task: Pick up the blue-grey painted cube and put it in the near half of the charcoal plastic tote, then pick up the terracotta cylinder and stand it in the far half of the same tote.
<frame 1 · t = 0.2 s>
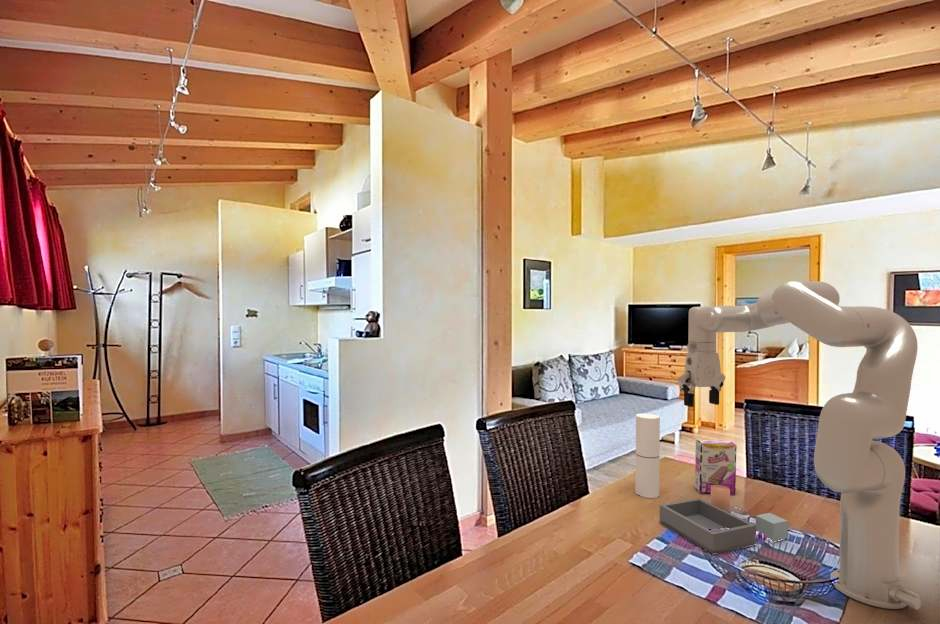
hand: (701, 405, 141), 31 cm above the table, tool pointing down, fingers open, 9 cm apart
cube: (771, 537, 123), on the table
candy bar box: (715, 492, 153), on the table
cylinder: (720, 511, 138), on the table
tote: (705, 533, 125), on the table
cylindrical container: (647, 494, 151), on the table
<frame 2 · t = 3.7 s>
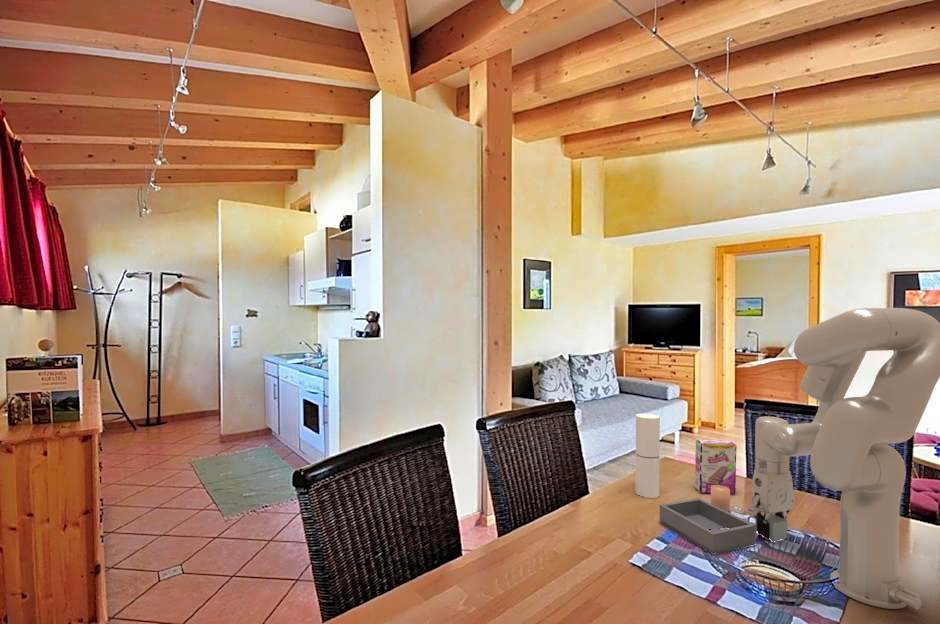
hand: (770, 533, 123), 1 cm above the table, tool pointing down, fingers closed on cube, 5 cm apart
cube: (771, 536, 123), on the table, touching gripper
everything else where it was.
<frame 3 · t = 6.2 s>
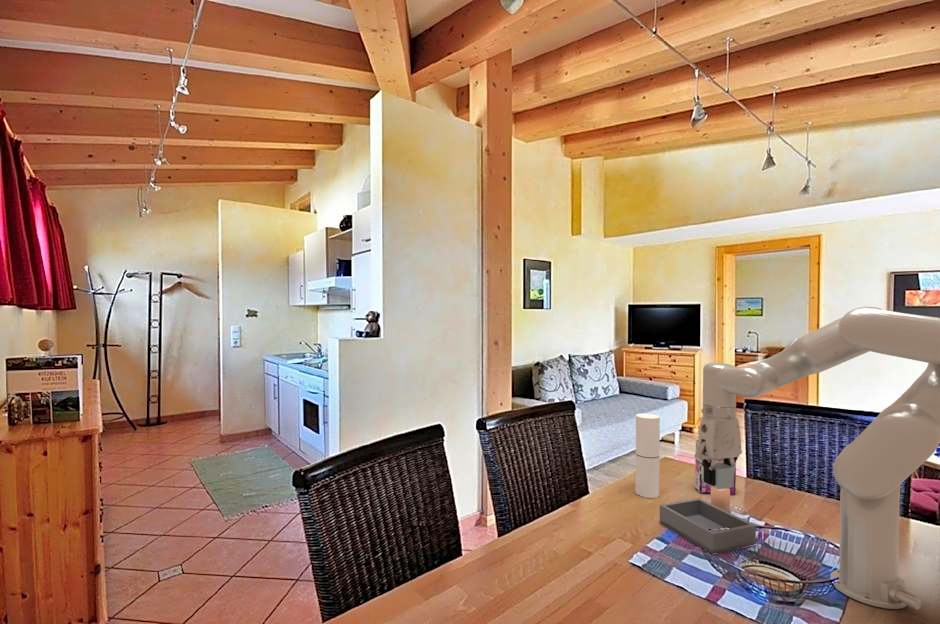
hand: (718, 481, 121), 15 cm above the table, tool pointing down, fingers closed on cube, 5 cm apart
cube: (717, 484, 121), point 14 cm above the table, touching gripper
everything else where it was.
when the fingers open (3 cm above the table, at t = 8.6 s): cube drops 2 cm, resting on tote.
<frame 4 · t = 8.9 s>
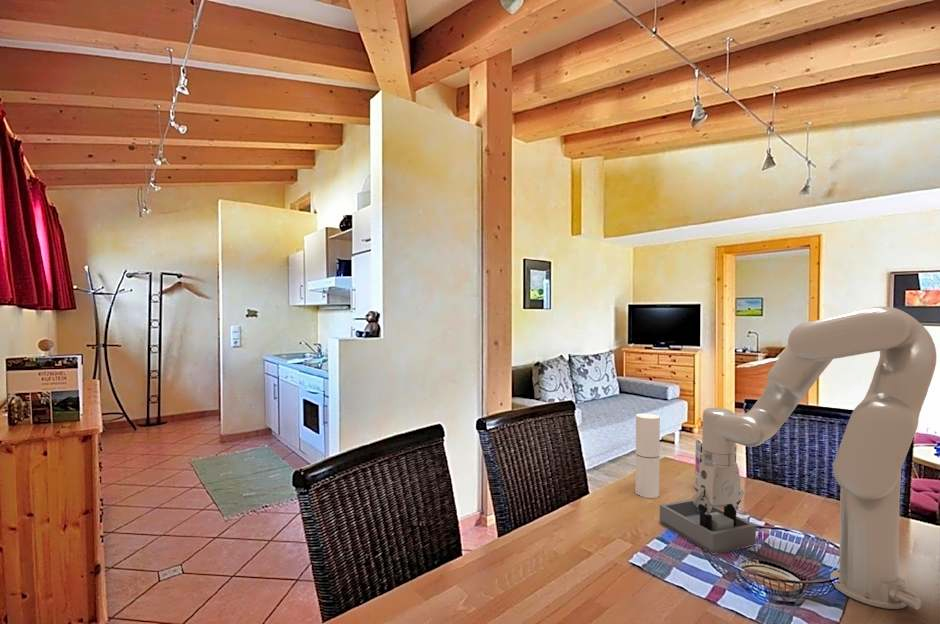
hand: (717, 525, 121), 4 cm above the table, tool pointing down, fingers open, 7 cm apart
cube: (717, 536, 121), point 1 cm above the table, touching tote
everything else where it was.
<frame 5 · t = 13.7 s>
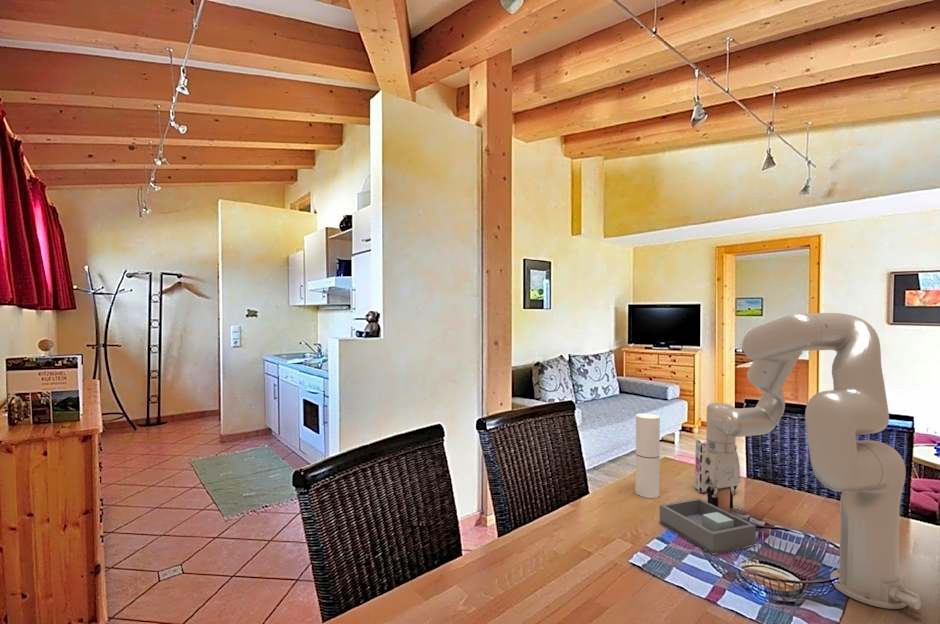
hand: (720, 507, 138), 1 cm above the table, tool pointing down, fingers closed on cylinder, 4 cm apart
cylinder: (720, 511, 138), on the table, touching gripper
everything else where it was.
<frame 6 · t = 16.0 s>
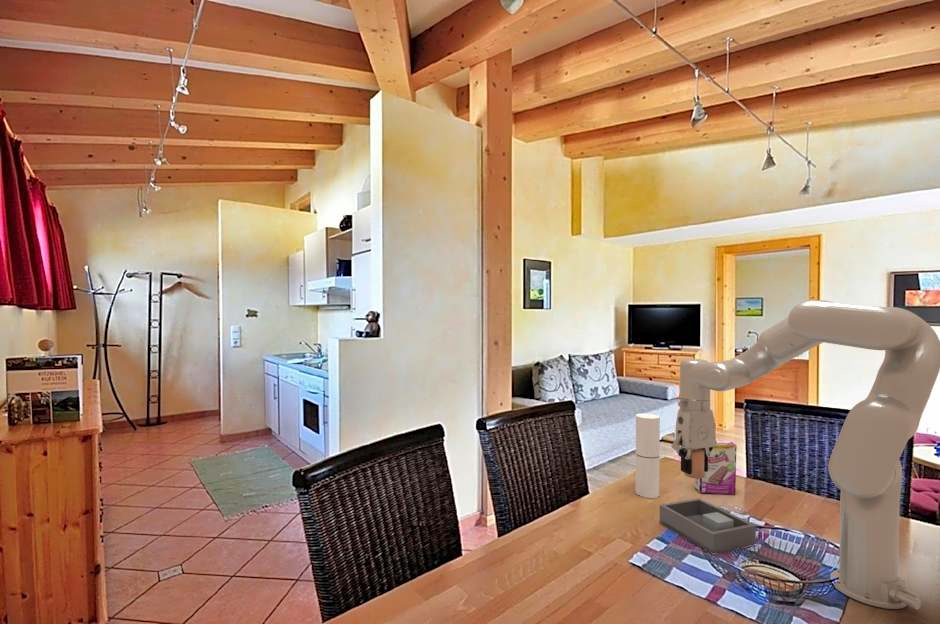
hand: (694, 470, 128), 15 cm above the table, tool pointing down, fingers closed on cylinder, 4 cm apart
cylinder: (694, 475, 128), point 14 cm above the table, touching gripper
everything else where it was.
when the fingers open (4 cm above the table, at t = 18.6 s): cylinder drops 1 cm, resting on tote.
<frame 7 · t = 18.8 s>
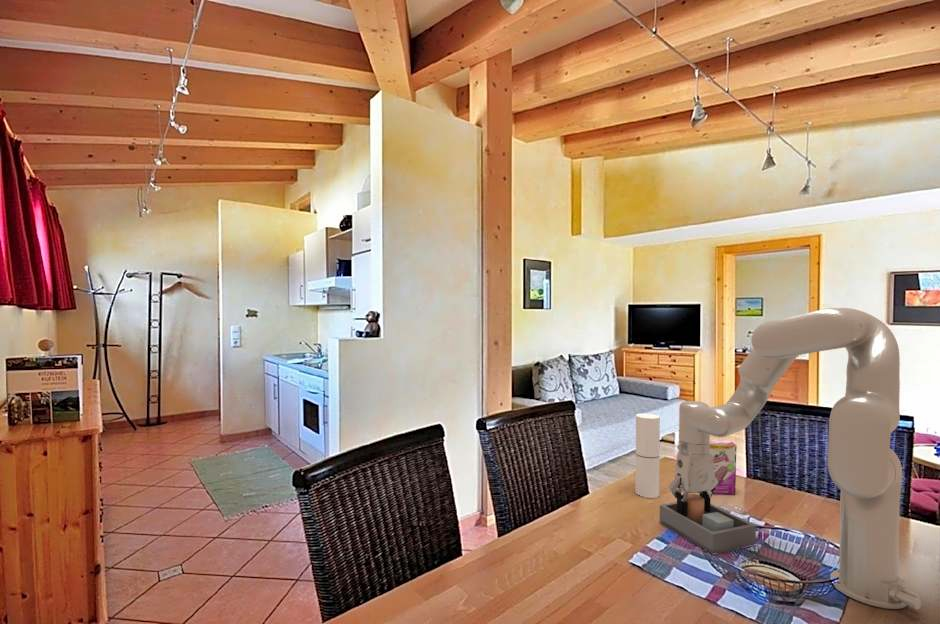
hand: (693, 511, 128), 4 cm above the table, tool pointing down, fingers open, 7 cm apart
cylinder: (693, 522, 128), point 1 cm above the table, touching tote
everything else where it was.
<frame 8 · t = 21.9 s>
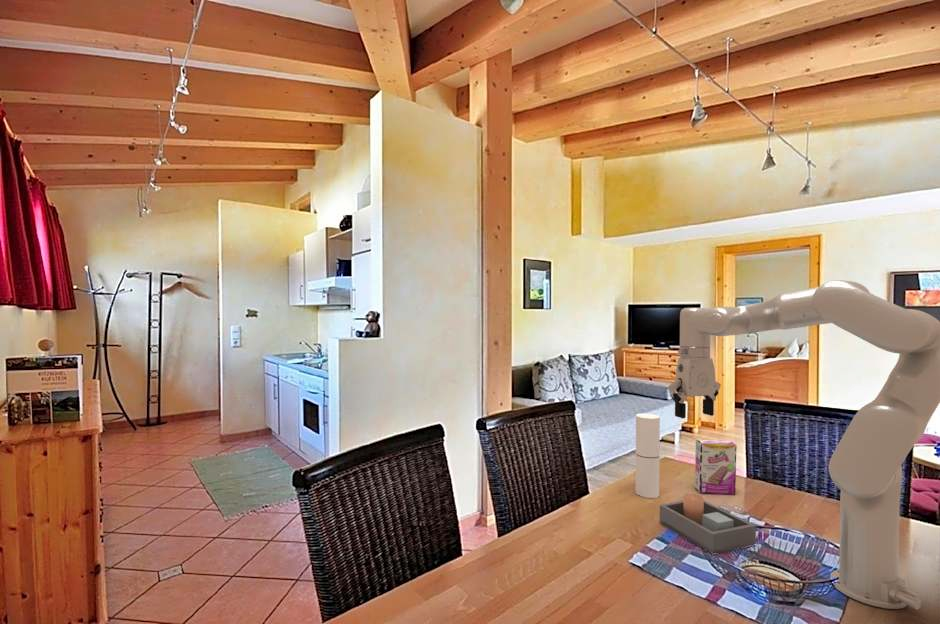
hand: (694, 415, 128), 30 cm above the table, tool pointing down, fingers open, 9 cm apart
nothing on the table moved.
at the end: cube inside the target area on the tote (4.0 cm from its centre), point 1.0 cm above the tote's base; cylinder inside the target area on the tote (4.0 cm from its centre), point 1.1 cm above the tote's base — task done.
